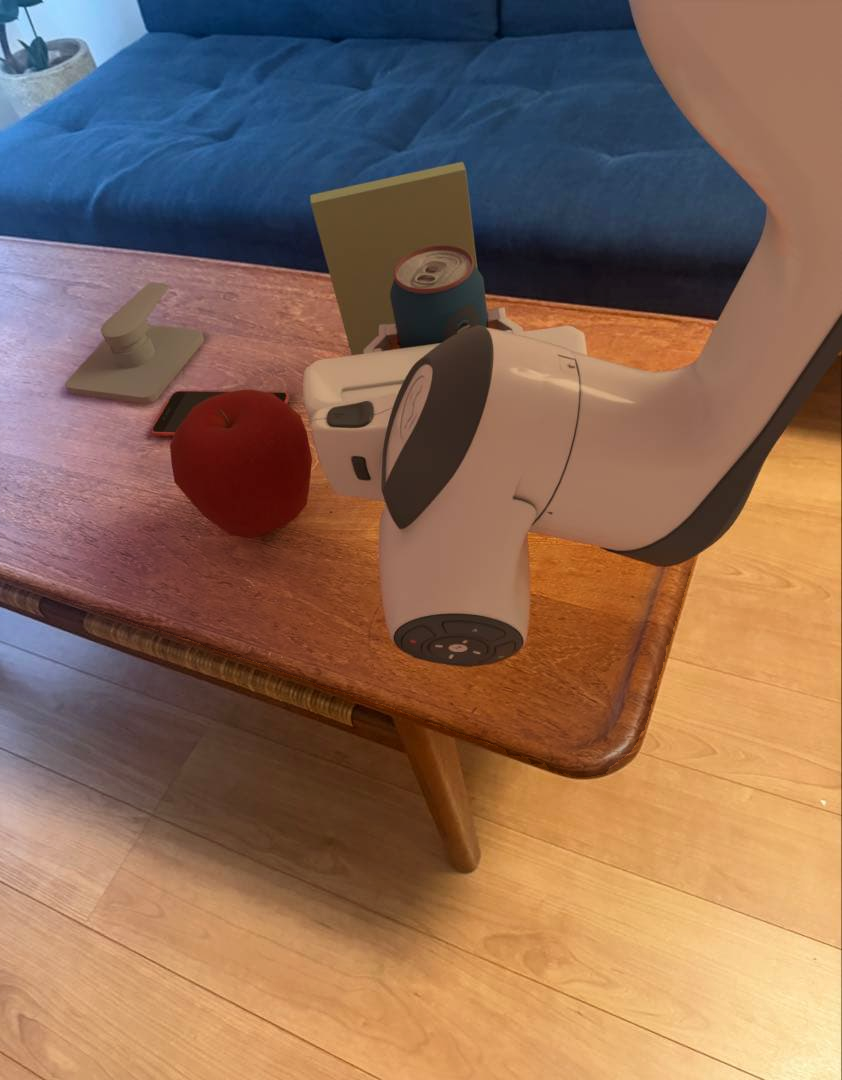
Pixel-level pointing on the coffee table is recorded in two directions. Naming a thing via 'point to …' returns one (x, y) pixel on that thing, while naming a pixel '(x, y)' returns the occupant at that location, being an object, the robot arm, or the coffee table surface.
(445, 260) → the soda can
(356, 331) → the olive green plank
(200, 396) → the smartphone
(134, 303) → the shower valve
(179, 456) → the apple
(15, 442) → the coffee table surface
